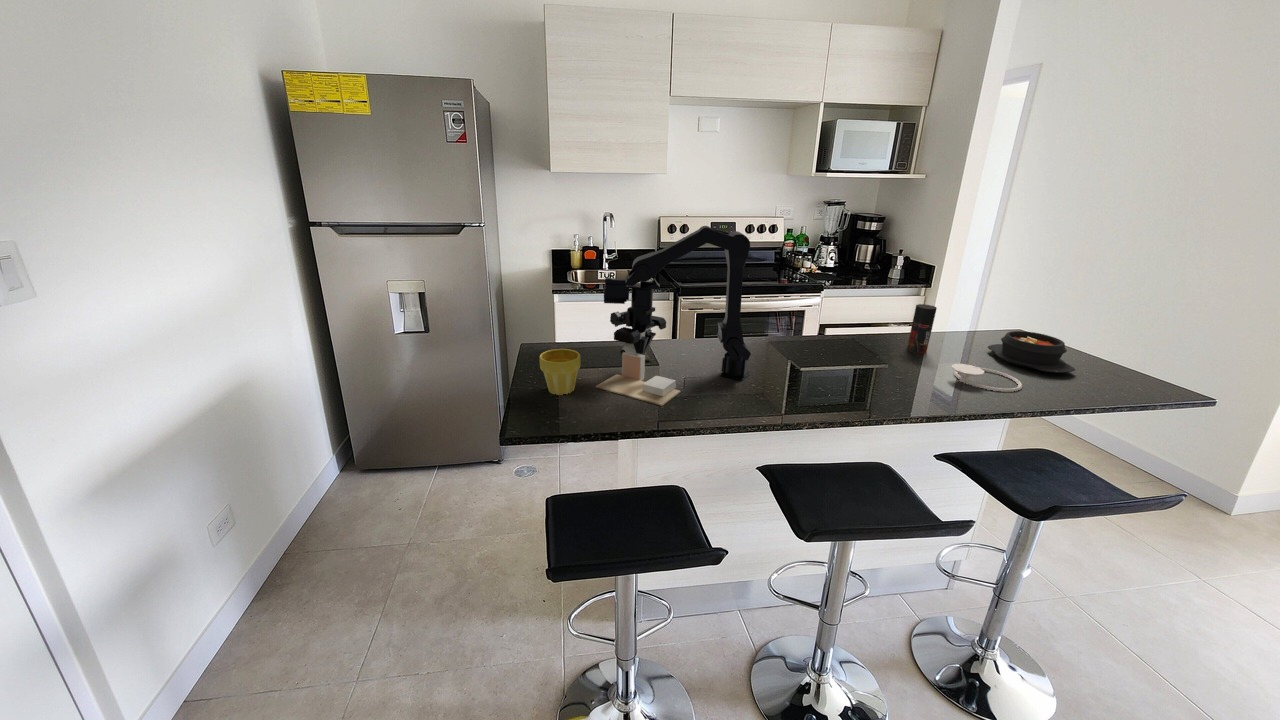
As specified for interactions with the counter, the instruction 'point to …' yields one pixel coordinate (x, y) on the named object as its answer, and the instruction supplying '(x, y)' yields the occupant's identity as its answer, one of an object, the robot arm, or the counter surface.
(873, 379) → the counter surface
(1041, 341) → the casserole
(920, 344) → the deodorant
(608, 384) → the cork mat
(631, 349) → the ceramic fragment
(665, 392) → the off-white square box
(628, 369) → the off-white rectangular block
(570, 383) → the plant pot
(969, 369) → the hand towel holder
